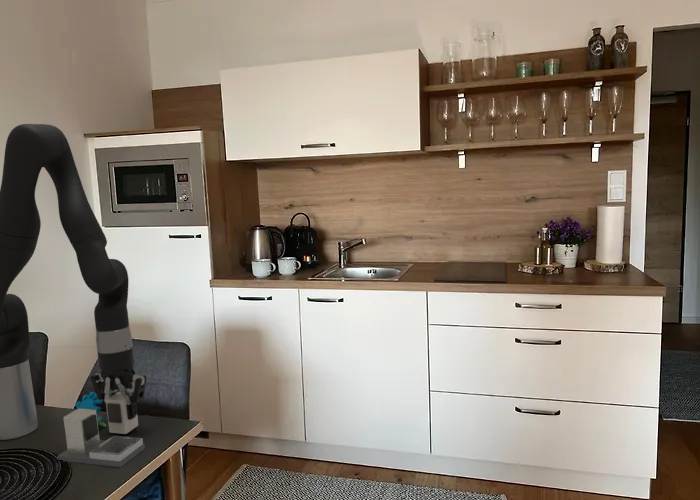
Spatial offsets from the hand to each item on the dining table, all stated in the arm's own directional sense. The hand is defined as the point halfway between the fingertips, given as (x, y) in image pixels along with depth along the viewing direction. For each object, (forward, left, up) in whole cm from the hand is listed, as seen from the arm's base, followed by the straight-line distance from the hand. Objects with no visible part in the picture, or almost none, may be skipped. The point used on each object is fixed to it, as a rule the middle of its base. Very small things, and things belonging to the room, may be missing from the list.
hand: (122, 417), depth 130 cm
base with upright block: (+2, -10, -4) cm, 11 cm away
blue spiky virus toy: (-11, +1, -4) cm, 12 cm away
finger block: (0, 0, -3) cm, 3 cm away
